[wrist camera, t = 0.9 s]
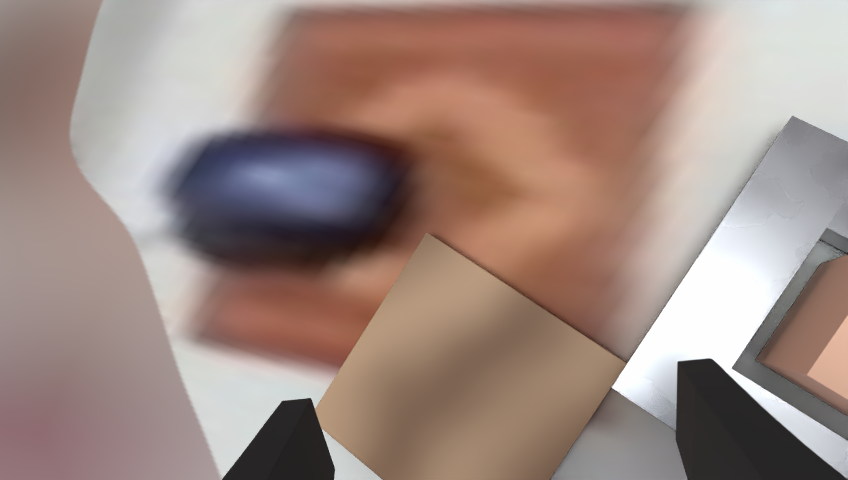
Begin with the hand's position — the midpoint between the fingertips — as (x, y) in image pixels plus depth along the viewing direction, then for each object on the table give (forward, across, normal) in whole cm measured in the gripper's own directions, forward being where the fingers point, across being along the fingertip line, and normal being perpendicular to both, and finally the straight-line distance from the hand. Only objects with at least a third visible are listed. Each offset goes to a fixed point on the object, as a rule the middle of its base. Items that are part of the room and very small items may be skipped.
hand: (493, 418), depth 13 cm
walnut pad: (+12, +2, +10) cm, 16 cm away
